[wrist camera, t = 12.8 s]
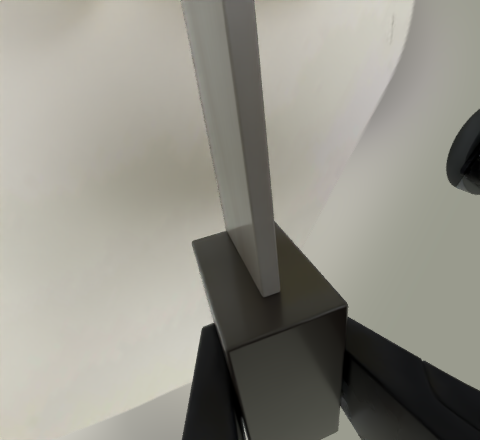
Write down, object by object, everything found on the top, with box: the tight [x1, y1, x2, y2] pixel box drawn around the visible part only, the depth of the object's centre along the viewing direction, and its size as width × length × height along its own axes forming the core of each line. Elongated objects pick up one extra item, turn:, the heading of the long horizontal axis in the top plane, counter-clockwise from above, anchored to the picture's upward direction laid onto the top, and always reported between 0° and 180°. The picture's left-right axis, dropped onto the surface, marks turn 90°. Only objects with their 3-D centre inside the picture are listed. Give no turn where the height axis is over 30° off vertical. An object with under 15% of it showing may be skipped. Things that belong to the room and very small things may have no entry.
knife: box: [181, 0, 348, 440], centre depth 6 cm, size 2×11×4 cm, turn 8°
